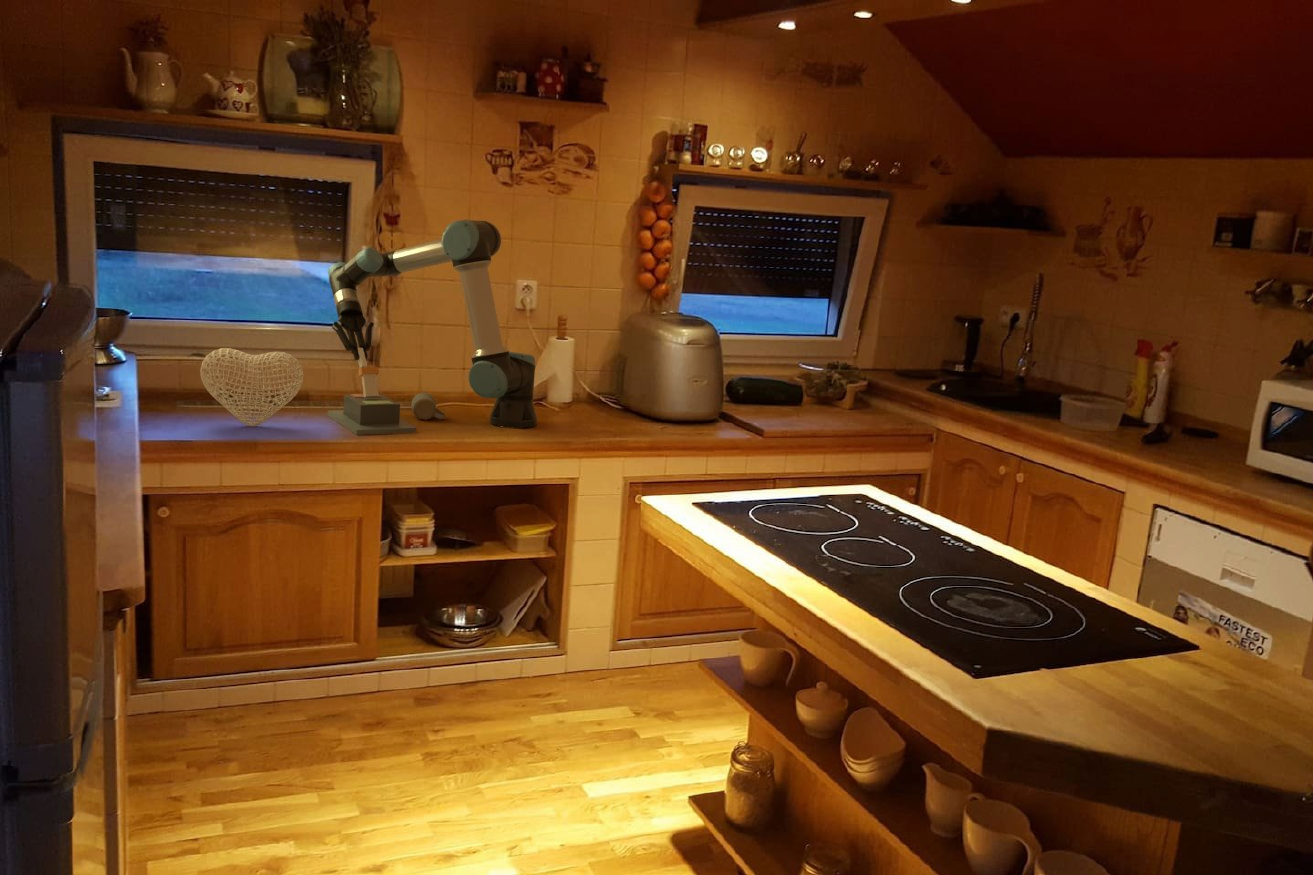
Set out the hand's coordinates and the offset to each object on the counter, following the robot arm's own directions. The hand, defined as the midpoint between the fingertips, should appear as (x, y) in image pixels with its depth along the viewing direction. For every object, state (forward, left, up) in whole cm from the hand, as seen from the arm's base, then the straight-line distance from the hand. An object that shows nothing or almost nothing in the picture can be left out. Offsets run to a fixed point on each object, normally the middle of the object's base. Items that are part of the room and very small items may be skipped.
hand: (363, 367), depth 335 cm
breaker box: (-4, +6, -16) cm, 18 cm away
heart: (+26, +23, -16) cm, 38 cm away
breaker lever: (-4, +6, -9) cm, 11 cm away
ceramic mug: (-19, -9, -16) cm, 26 cm away
